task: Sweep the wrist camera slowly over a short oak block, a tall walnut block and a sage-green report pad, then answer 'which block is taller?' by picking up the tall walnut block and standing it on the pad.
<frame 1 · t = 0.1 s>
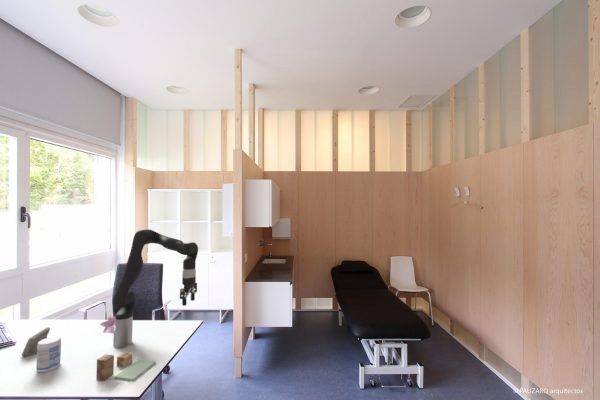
hand: (188, 302, 162), 29 cm above the table, fingers open, 8 cm apart
lily: (110, 330, 189), on the table
supplement tub: (48, 368, 145), on the table
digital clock: (36, 350, 162), on the table
report pad: (136, 370, 143), on the table
short oak block: (124, 364, 149), on the table
tall walnut block: (105, 377, 137), on the table
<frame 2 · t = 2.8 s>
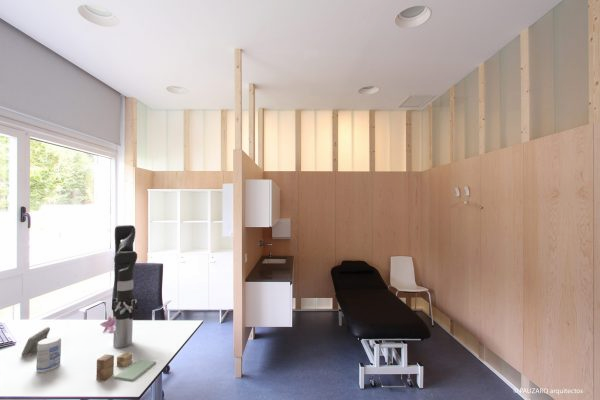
hand: (124, 318, 146), 26 cm above the table, fingers open, 8 cm apart
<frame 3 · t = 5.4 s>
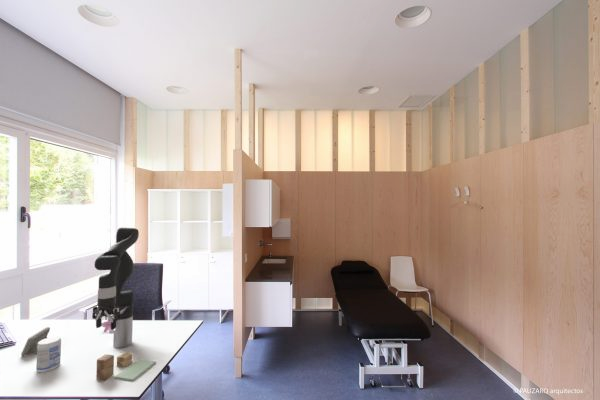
hand: (106, 328, 135), 26 cm above the table, fingers open, 8 cm apart
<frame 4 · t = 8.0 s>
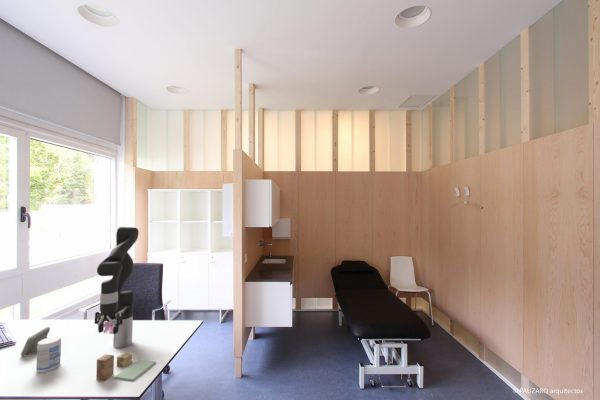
hand: (108, 332, 138), 22 cm above the table, fingers open, 8 cm apart
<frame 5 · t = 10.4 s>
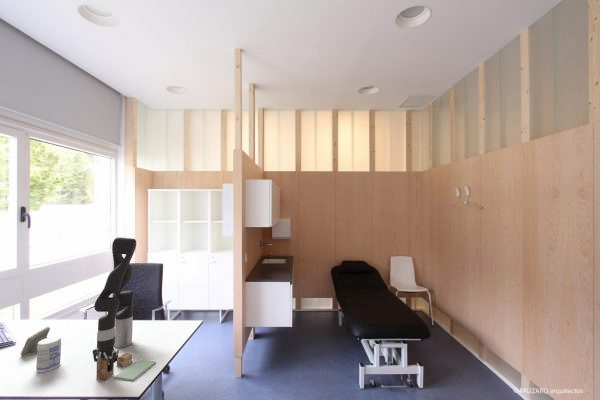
hand: (105, 370, 137), 3 cm above the table, fingers closed on tall walnut block, 5 cm apart
tall walnut block: (105, 377, 137), on the table, touching gripper
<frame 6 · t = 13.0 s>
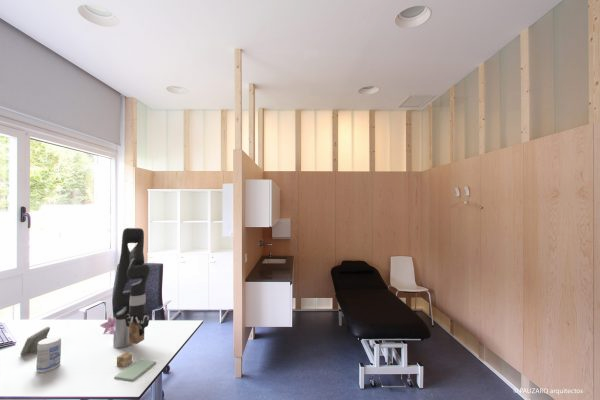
hand: (136, 334, 143), 19 cm above the table, fingers closed on tall walnut block, 5 cm apart
tall walnut block: (136, 341, 143), point 15 cm above the table, touching gripper
when the fingers open (5 cm above the table, at t = 15.8 s): tall walnut block stays where it is, resting on report pad.
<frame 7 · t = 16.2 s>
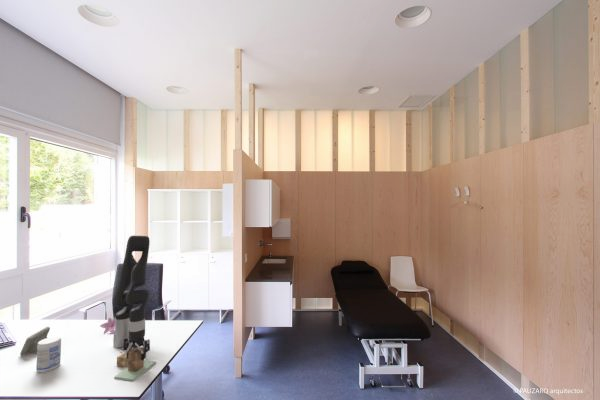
hand: (136, 358, 143), 6 cm above the table, fingers open, 8 cm apart
tall walnut block: (135, 368, 143), point 1 cm above the table, touching report pad
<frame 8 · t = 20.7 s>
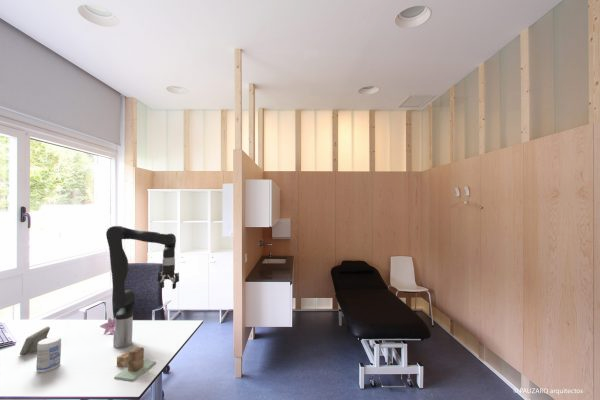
hand: (168, 288, 178), 33 cm above the table, fingers open, 8 cm apart
at the end: tall walnut block inside the target area on the report pad (0.1 cm from its centre), point 1.0 cm above the report pad's base; tall walnut block tilted 0°; short oak block moved 0.1 cm from its start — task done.
